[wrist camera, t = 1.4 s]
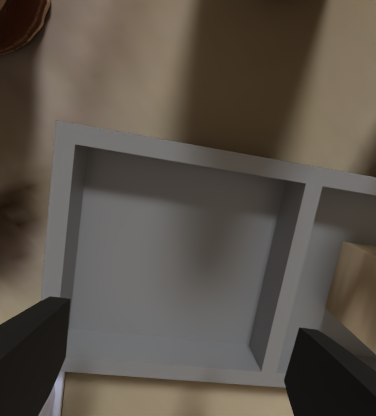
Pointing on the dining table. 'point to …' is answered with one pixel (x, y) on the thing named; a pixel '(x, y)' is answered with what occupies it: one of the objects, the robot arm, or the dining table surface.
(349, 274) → the maple cube
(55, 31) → the dining table surface
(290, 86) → the dining table surface
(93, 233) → the tray
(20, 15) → the coffee cup
